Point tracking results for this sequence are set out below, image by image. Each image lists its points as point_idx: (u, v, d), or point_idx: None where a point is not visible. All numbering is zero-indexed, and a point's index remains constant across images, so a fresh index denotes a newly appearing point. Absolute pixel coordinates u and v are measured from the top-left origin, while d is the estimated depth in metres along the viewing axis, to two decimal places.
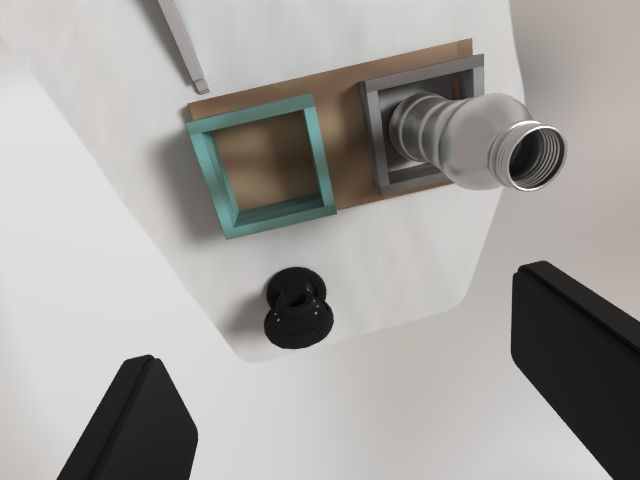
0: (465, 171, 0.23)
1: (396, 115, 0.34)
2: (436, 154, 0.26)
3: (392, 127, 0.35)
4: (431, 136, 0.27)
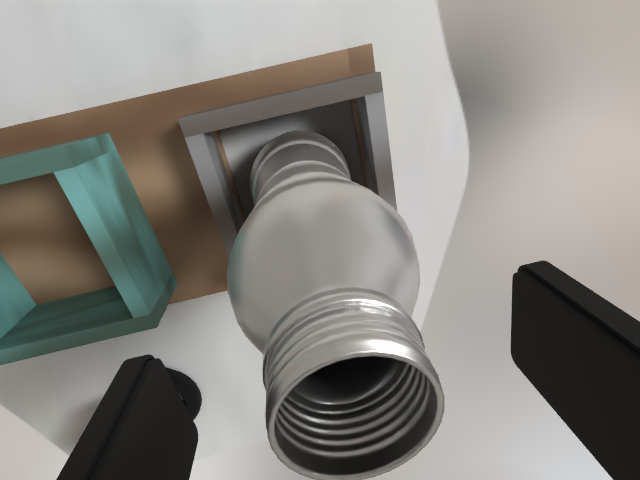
0: (262, 353, 0.11)
1: (253, 168, 0.21)
2: None
3: (250, 186, 0.22)
4: None
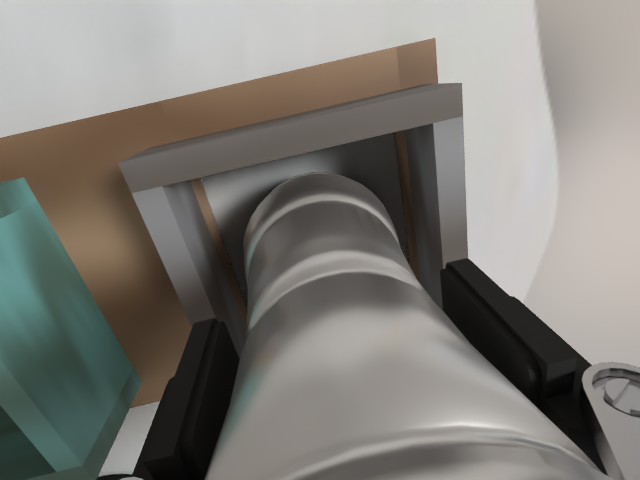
0: None
1: (247, 232, 0.14)
2: None
3: None
4: None
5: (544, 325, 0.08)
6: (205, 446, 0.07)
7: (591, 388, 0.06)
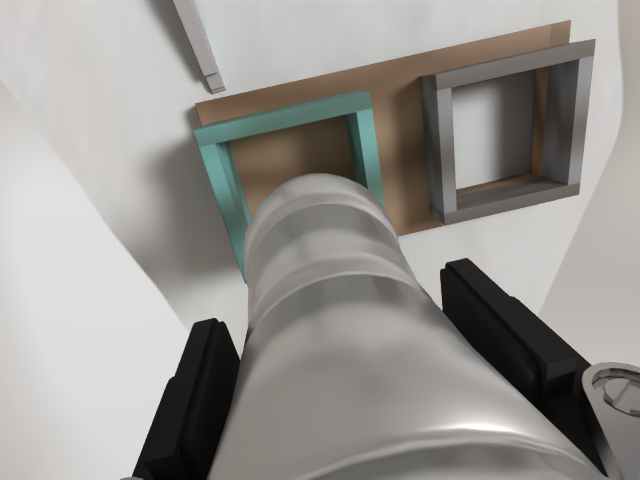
0: None
1: (247, 233, 0.14)
2: None
3: None
4: None
5: (544, 325, 0.08)
6: (205, 446, 0.07)
7: (591, 388, 0.06)
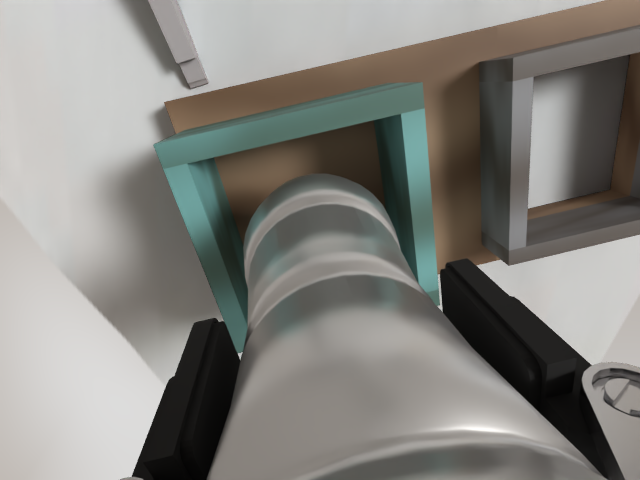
0: None
1: (247, 233, 0.14)
2: None
3: None
4: None
5: (544, 325, 0.08)
6: (205, 446, 0.07)
7: (591, 388, 0.06)
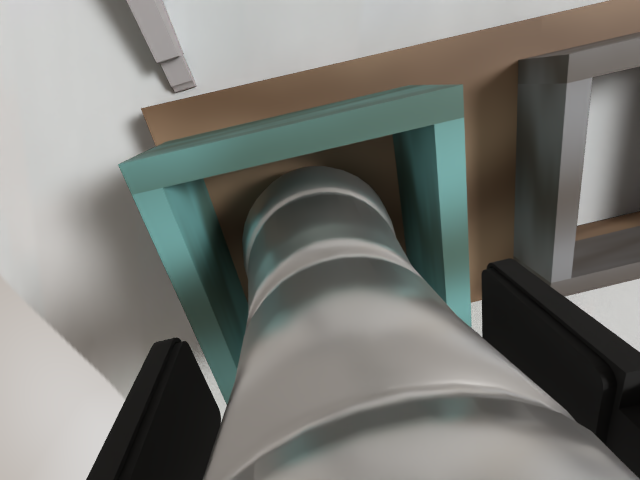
0: None
1: (246, 224, 0.14)
2: None
3: None
4: None
5: None
6: None
7: None
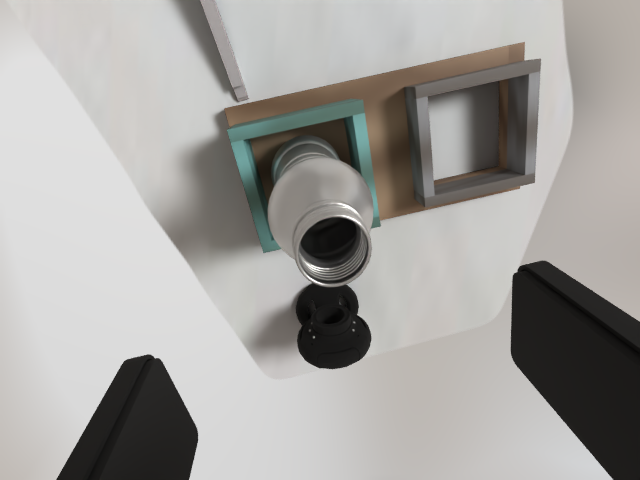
0: (287, 249, 0.20)
1: (273, 160, 0.31)
2: None
3: (271, 173, 0.31)
4: None
5: None
6: None
7: None
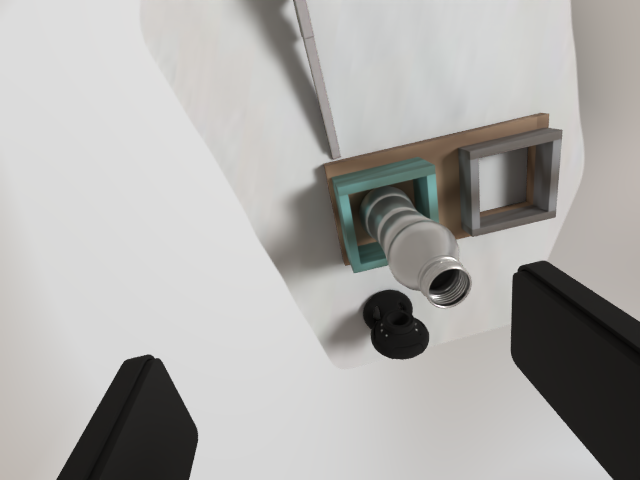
0: (405, 281, 0.31)
1: (364, 206, 0.41)
2: (387, 260, 0.33)
3: (361, 214, 0.42)
4: (384, 242, 0.34)
5: None
6: None
7: None
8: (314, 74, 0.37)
